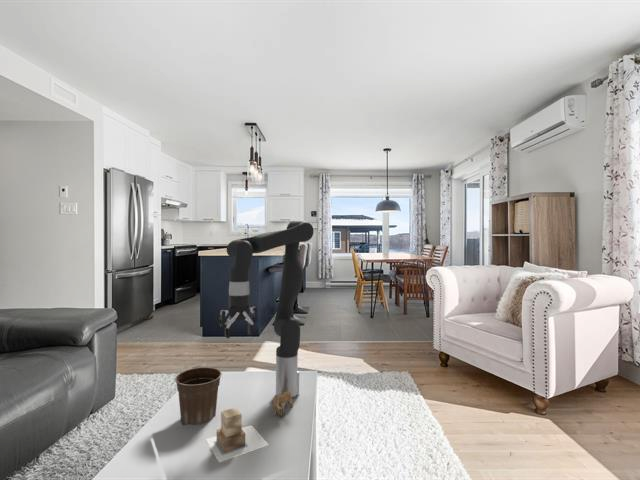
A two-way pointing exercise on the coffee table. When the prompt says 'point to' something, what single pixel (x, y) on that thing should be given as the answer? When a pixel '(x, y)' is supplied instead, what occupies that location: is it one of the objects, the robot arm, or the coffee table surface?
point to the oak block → (231, 422)
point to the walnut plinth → (230, 441)
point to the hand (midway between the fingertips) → (238, 336)
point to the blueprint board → (251, 443)
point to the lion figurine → (282, 402)
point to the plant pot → (198, 394)
